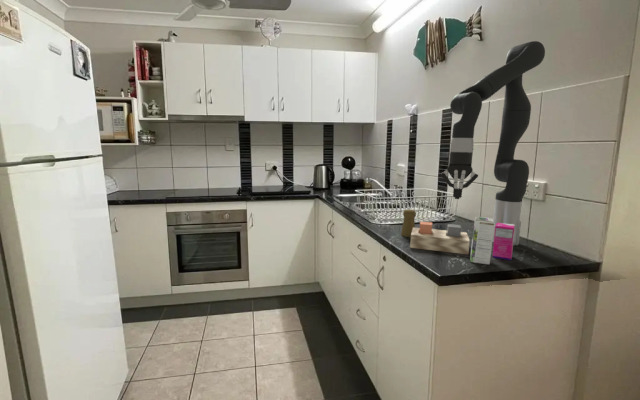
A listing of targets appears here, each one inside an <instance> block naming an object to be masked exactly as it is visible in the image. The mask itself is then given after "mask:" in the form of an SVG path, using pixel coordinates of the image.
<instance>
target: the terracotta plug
mask: <svg viewBox="0 0 640 400" xmlns="http://www.w3.org/2000/svg"><path fill="white" fill-rule="evenodd" d="M419 228H420V230H419V233H422V234H432V229H433V222H431V221H429V222H428V221H420V222H419Z"/></svg>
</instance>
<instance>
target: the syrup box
mask: <svg viewBox="0 0 640 400" xmlns="http://www.w3.org/2000/svg"><path fill="white" fill-rule="evenodd" d="M473 223H474V224H473V231H472V238H471V247H470V254H469V255H470V256H469V259H470V263H474V264H480V265H481V264H483V265H490V264H491V257H492V251H493V243H494V242H493V235H494V226H495V222H494V220H493V218H491V217H490V218H489V217H485V216H475V217H474V222H473Z"/></svg>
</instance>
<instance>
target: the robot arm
mask: <svg viewBox="0 0 640 400" xmlns="http://www.w3.org/2000/svg"><path fill="white" fill-rule="evenodd" d="M545 55H546V49H545V47H544V44H543V43H541V42H540V41H537V40H532V41H527V42H525V43H522V44H519V45H515V46H512V47H511V48H510V49H509V50H508V52H507V55H506V57H505V64H503V65H502V66H500V67H498V68H496V69H494V70H493V71H491V72H489V73H487V74H486V75H485V76H483V77H482V78H481V79H479V80H478V81H476V83H474V84H473V85H471V86H468V87H467V88H465V89H464V90H461V91H460V92H458V93H457V94H456V95H455V96H454V97H453V98H452V99H451V102H450V105H449V106H450V110H451V111H452V113H453V114H455V115H461V118H460V119H459V120H457V121H455V122H454V123H453V126H452V132H451V133H452V135H451V136H452V137H451V142H450V147H449V158H448V159H449V160H448V165H447V168H446V169H445V170H444V171H443V172H441V173H440V175H441V177H442V178H443V179H444V181H445V182H446V184H447V185H448V186H449V187H451V188H452V189H453V191H452V196H453V198H454V199H455V200H460V199H461V198H463V197H462V195H463V189H466V188H468V187H469V186H470V185H471V184H472V183H474V181H476V180H477V179H478V177H479V174H477V173H476V172H475V171H473V166H472V164H473V152H474V135H475V126H476V124H477V121H478V119H479V116H480V113H481V110H482V106H483V102H484V101H486V100H488V99H489V98H491V97H492V96H493V95H495V94H496V93H498V92H499V91H500V90H501V89H503V87H505V88H504V98H503V99H504V100H503V107H502V116H501V127H500V136H499V142H498V148H497V152H496V153H497V154H496V157H495V161H494V166H493V167H494V169H493V174H494V175H493V176H494V178H495V179H496V181H498V182H501V183H505V188H504V189H502V190H500V191H497V192H495V200H494V207H493V208H494V209H493V216H492V219H493V220H494V222H495V226H496V224H497V223H505V224H514V225H515V229H514V240H513V246H519V243H520V233H521V226H522V221H521V214H522V207H523V206H522V205H523V199H524V196H525V194H526V192H527V188H528V187H527V186H528V181H529V176H530V167H529V164H528V162H526V161H525V160H523V159H517V158H516V159H515V151H516V147H517V145H518V143H519V141H520V139H521V138H522V137H523V135H524V134H525V132H526V131H527V130H528V127H529V125H530V120H531V112H532V105H531V101H530V99H529V97H528V95H527V93H526V92H525V90H524V86H523V74H525V73H526V72H528V71H530V70H532V69H534V68H536V67H538V66H539V65H540V64H541V63H542V62H543V61H544V59H545ZM449 176H450V178H452V179H453V183H452V181H451V180H450V179H449ZM468 177H470V178H469V179H468V180H467V181H466V182H465V180H466V179H467V178H468ZM458 181H459V182H458ZM464 182H465V183H464ZM495 226H494V235H495ZM494 235H493V242H492V243H494Z"/></svg>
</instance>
